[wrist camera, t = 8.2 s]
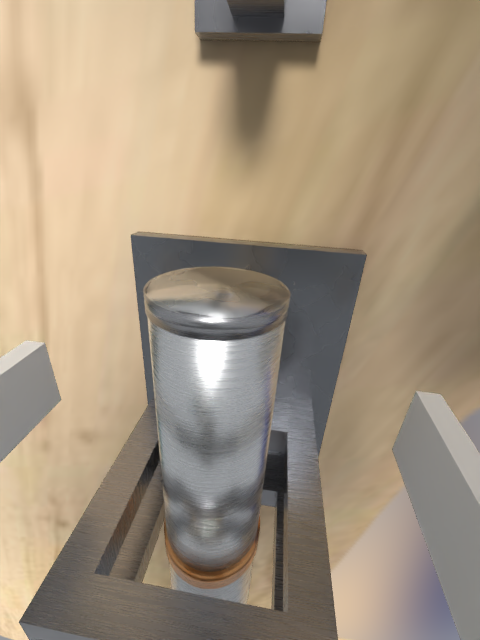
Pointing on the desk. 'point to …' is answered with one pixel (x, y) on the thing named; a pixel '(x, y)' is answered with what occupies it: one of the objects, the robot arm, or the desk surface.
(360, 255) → the grey bracket stand
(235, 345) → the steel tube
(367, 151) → the desk surface
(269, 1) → the block
